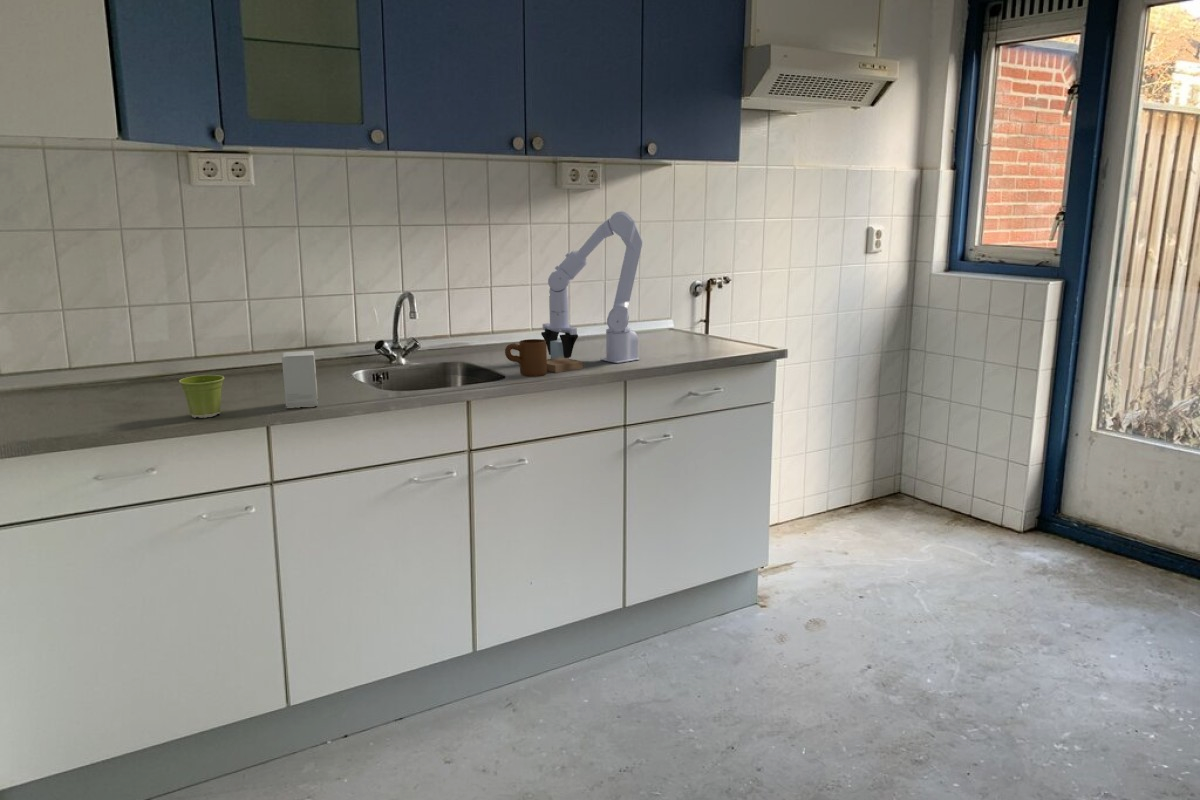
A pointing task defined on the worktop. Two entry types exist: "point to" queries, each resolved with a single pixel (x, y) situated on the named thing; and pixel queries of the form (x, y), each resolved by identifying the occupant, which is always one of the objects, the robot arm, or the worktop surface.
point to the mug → (529, 356)
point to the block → (556, 349)
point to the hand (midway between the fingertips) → (559, 356)
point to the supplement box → (299, 378)
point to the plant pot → (203, 393)
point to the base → (563, 364)
